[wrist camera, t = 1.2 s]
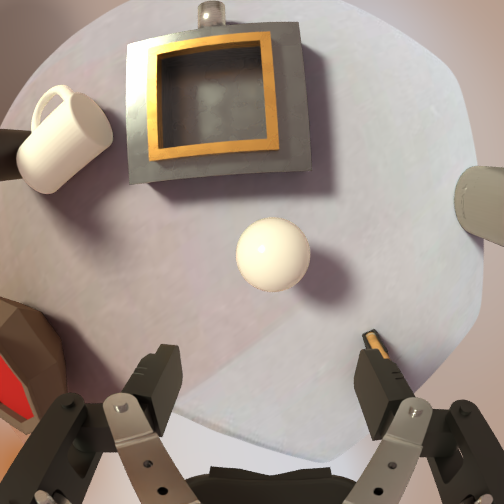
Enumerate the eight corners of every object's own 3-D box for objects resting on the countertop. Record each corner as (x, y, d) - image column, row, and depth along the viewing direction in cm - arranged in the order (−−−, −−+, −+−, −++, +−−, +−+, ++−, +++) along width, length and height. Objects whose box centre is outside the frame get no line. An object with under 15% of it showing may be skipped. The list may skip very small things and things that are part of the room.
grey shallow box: (291, 13, 26) (295, -13, 20) (305, 171, 31) (314, 170, 25) (144, 31, 27) (125, 12, 21) (146, 182, 32) (123, 185, 26)
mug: (122, 148, 31) (85, 144, 24) (67, 191, 33) (28, 198, 25) (89, 76, 29) (53, 61, 21) (40, 122, 31) (2, 117, 23)
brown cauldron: (2, 247, 36) (-69, 278, 20) (105, 335, 38) (44, 405, 22) (-7, 340, 42) (-54, 378, 26) (77, 413, 44) (39, 468, 28)
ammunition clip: (361, 333, 36) (391, 392, 24) (374, 328, 36) (408, 384, 24) (376, 387, 38) (400, 445, 27) (387, 382, 38) (414, 438, 26)
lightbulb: (299, 206, 32) (314, 222, 22) (301, 262, 34) (315, 302, 23) (241, 209, 33) (228, 226, 22) (245, 264, 34) (235, 305, 24)
